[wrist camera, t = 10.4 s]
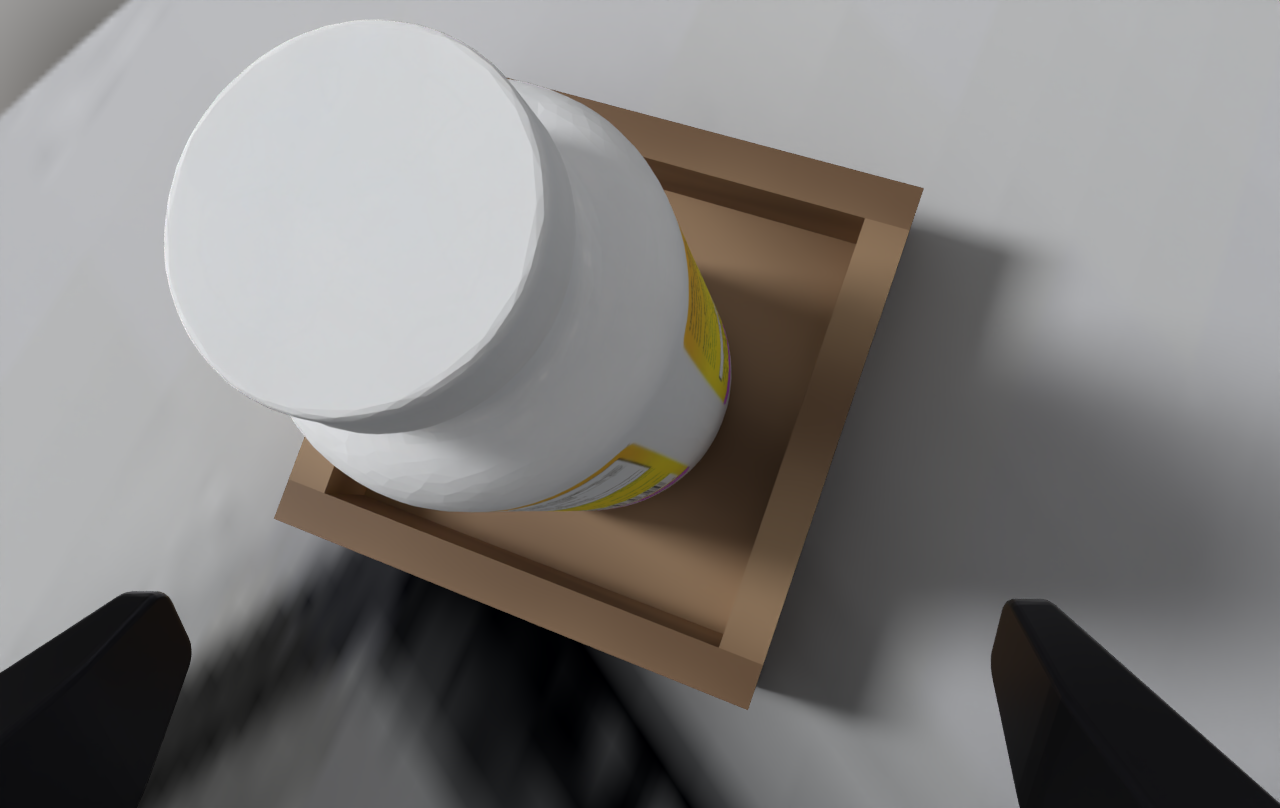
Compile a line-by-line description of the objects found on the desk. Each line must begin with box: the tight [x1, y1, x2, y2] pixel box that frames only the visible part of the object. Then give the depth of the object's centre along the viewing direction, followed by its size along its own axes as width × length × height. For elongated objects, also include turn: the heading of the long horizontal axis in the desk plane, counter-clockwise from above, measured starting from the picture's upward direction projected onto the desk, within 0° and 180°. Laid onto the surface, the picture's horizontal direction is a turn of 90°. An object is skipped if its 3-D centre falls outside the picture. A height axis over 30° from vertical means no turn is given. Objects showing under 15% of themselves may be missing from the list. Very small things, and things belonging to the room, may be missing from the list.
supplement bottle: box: [164, 20, 732, 512], centre depth 16 cm, size 7×7×13 cm
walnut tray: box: [274, 78, 924, 710], centre depth 22 cm, size 12×12×3 cm
